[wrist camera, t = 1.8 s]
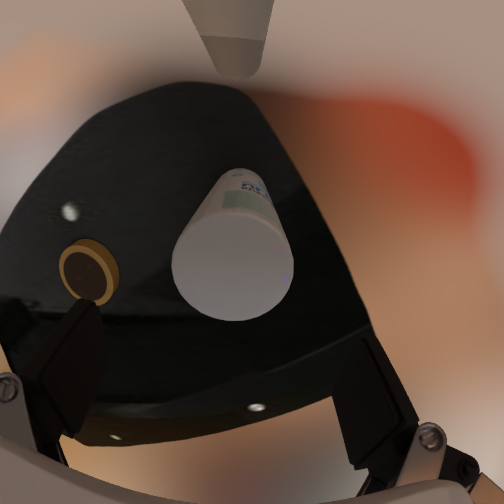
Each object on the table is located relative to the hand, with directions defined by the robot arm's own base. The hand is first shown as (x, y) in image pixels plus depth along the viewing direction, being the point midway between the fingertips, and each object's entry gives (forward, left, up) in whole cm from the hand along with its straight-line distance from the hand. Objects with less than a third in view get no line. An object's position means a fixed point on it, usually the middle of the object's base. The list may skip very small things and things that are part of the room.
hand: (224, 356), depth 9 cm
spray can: (0, 0, -26) cm, 26 cm away
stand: (+14, -21, -26) cm, 36 cm away
